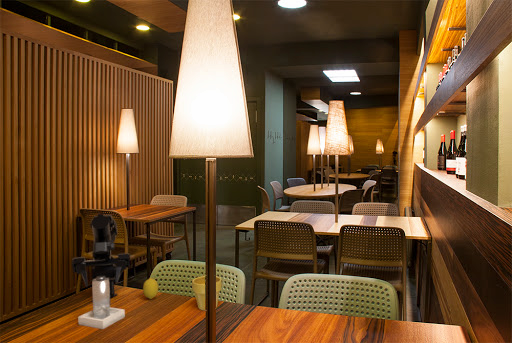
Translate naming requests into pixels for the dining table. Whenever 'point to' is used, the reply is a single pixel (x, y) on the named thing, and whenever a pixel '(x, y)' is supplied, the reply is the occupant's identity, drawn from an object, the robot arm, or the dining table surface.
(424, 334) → the dining table surface
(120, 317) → the serving tray
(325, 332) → the dining table surface
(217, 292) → the plant pot
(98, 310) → the metal water bottle
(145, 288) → the lemon
